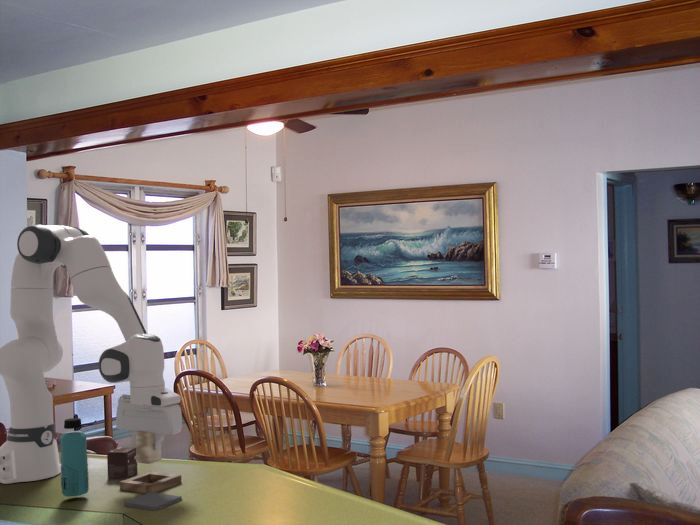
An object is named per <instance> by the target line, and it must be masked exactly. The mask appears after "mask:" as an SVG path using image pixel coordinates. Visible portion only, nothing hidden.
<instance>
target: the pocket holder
mask: <svg viewBox="0 0 700 525" xmlns="http://www.w3.org/2000/svg"><path fill="white" fill-rule="evenodd" d="M181 483H182V475H181V474H174V473H166V472H158V471H152V470H151V471H147V472H144V473H140V474H138V475H134V476H132V477H130V478H128V479H124V480H121V481H119V490H120V491H128V492H135V493H142V494H147V493H150V492H153V493H159V492H162V491H164V490H166V489H169V488H171V487H175V486H177V485H179V484H181Z"/></svg>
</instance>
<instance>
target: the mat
mask: <svg viewBox="0 0 700 525" xmlns="http://www.w3.org/2000/svg"><path fill="white" fill-rule="evenodd" d="M182 500H183V499H182V496H180V495H176V494H175V495H174V494H166V493H159V492H156V493H153V492H150V493H144V494H142V495H140V496H136V497H135V498H132V499H129V500H127V501H124V503H123V505H124V507H131V508H137V509H143V510H150V511H158V510H160V509H163V508H166V507H168V506H170V505H173V504H175V503H178V502H179V501H182Z"/></svg>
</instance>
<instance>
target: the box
mask: <svg viewBox="0 0 700 525" xmlns="http://www.w3.org/2000/svg"><path fill="white" fill-rule="evenodd" d="M106 454H107V455H106V457H107V459H106V460H107V462H106V463H107V465H106V466H107V479H119V480H122V479H124V480H126V479H129V478H132V477H135V476H136V475H137V474H138V462H136V447H116V448H113V449H111V450H109V451H107V453H106Z"/></svg>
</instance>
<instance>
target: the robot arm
mask: <svg viewBox="0 0 700 525" xmlns="http://www.w3.org/2000/svg"><path fill="white" fill-rule="evenodd" d="M16 244H17V251H18V253H17V254H16V256H15V259H14V262H13V266H12V267H13V268H12V273H11V280H10V281H11V282H10V309H9V310H10V317H11V319H12V320H13V322H14V324H15V327H16V330H17V336H18V338H16V339H13V340H10V341H8V342H7V343H5V344H4V345H2V346H1V347H0V376H2V378H3V380H4V382H5V383H4V384H5V386H6V389H7V394H8V398H9V406H10V408H9V409H10V427H9V428H5V429H4V431H6V432H4V434H7V436H6V441H5V442H4V443H3V444H2V445H1V446H0V483H1V484H5V485H8V484H14V483H24V482H26V483H27V482H33V481H34V482H35V481H41V480H45V479H49V478H53V477H55V476H57V475H59V474H61V462H60V455H59V449H58V442H57V440H56V439H55V436H56V430H57V428H56V423H55V422H54V403H53V402H54V401H53V399H54V398H53V394H52V393H51V392H50V390H49V389H48V385H47V384H46V383H47V382H46V380H45V375H44V374H45V373H47V372H49V371H52V370H53V369H54V368H55V367H57V366H58V365H59V364H60V362H61V361H62V358H63V354H64V350H63V346H62V344H61V343H60V341H59V340H58V335H57V332H56V327H55V322H54V311H53V310H54V305H53V304H54V273H55V271H56V270H57V268H58V267H60V266H61V267H62V268H64V269H65V268H66V269H67V273H68V276H69V279H70V282H71V285H72V289H73V291H74V294H75V295H76V297H77V299H78V300H79V302H81V303H82V304H83V305H86V306H88V307H89V308H93V309H94V310H95V309H96V310H97V311H101V312H103V313H105V314H107V315H109V316H110V317H111V318H113V319H114V321H115V322H116V323H117V325H118V327H119V330H120V332H121V334H122V335H123V339H124V340H125V342H123V343H121V344H117V345H115V346H113V347H110V348H107V349H105V350H104V351H103V352H102V353H101V355H100V356H99V360H98V365H97V366H98V371H99V373H100V376H101V377H102V378H103V380H105V381H106V382H107V383H110V384H112V383H113V384H118V383H127V382H129V394H125V393H124V394H122V395H121V396H120V397H119V398H118V400H117V406H116V414H115V427H116V428H117V429H118V430H120V431H128V432H130V431H131V436H132V438H133V440H134V442H135V443H136V431H141V432H150V433H155V437H156V438H157V440H156V442H155V443H153V450H156V451H159V450H161V451H162V444H163V441H164V439H165V437H166V435H168V436H175V435H177V434H180V433H181V431H182V430H183V416H182V415H183V414H182V409H181V406H180V405H179V403H180V402H181V395H180V394H178V393H176V392H175V391H172V390H170V389H169V388H167V387H165V386H166V385H165V384H166V383H165V379H164V370H165V351H164V345H163V342H162V339H161V338H160V337H159V336H157V335H155V334H151V333H147V331H146V328H145V326H144V325H143V322H142V320H141V318H140V315H139V314H138V312H137V310H136V307H135V306H134V303H133V301H132V299H131V298H130V296H129V295H128V293H126V292H125V290H124V289H123V288H122V286H121V285H120V283H119V281H118V280H117V278H116V276H115V274H114V272H113V269H112V265H111V263H110V261H109V259H108V256H107V254H106V252H105V250H104V248H103V246H102V244H101V243H100V241H99V240H98V239H97V238H96V237H94V236H92V235H90V234H89V233H88V232H87V231H86V230H84V229H82V228H79V227H76V226H68V225H62V224H61V225H60V224H46V225H45V224H44V225H43V224H33V225H28V226H26V227H24V228H23V229H22V230H21V232H19V235H18V237H17V242H16Z"/></svg>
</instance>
